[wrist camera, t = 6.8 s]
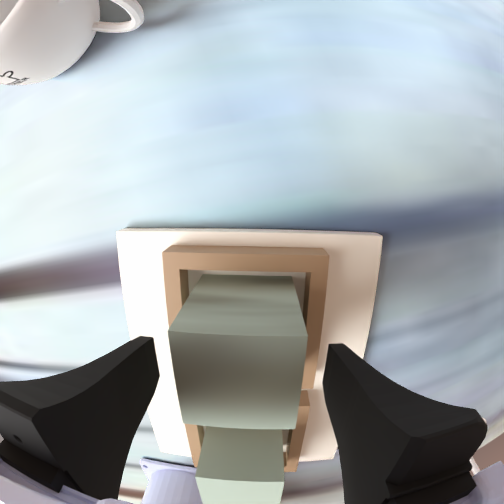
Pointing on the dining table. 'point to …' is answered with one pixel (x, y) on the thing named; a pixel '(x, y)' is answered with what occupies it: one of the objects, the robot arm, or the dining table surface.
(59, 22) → the mug
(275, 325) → the green block
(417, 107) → the dining table surface
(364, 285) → the puzzle board
